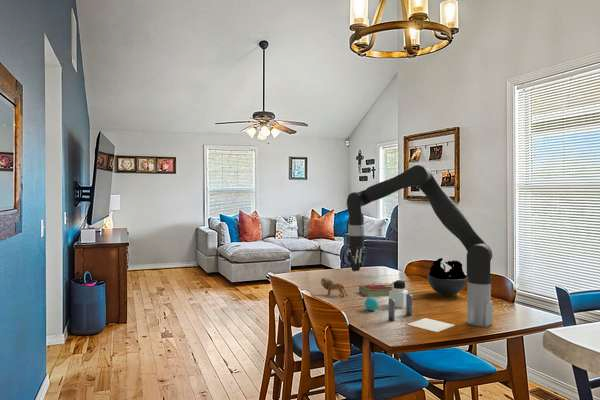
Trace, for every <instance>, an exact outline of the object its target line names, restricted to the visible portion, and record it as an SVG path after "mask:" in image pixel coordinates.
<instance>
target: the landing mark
mask: <svg viewBox="0 0 600 400" xmlns="http://www.w3.org/2000/svg"><path fill="white" fill-rule="evenodd" d="M406 325H407V326H411V327H415V328H418V329H422V330H426V331H431V332H434V333H439V332H441V331H445V330H447V329H450V328H453V327H455V326H456V324H452V323H449V322H445V321H439V320H436V319H431V318H427V317H423V318H422V319H418V320H415V321H412V322H409V323H407V324H406Z"/></svg>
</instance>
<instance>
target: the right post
mask: <svg viewBox="0 0 600 400" xmlns="http://www.w3.org/2000/svg"><path fill="white" fill-rule="evenodd" d="M405 315H406V316H410V317H411V316H413V294H410V293H408V294H406V306H405Z"/></svg>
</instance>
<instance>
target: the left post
mask: <svg viewBox="0 0 600 400" xmlns="http://www.w3.org/2000/svg"><path fill="white" fill-rule="evenodd" d="M395 312H396V307H395V299H389V298H388V317H387V318H388V319H387V320H388V321H389V322H395V318H396V317H395V316H396V315H395Z"/></svg>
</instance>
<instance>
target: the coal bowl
mask: <svg viewBox="0 0 600 400" xmlns="http://www.w3.org/2000/svg"><path fill="white" fill-rule="evenodd" d="M443 259H444V258H442V257H439V258H437V259H436V260H434V261H433V262H432V265H431V266H430V269H429V273H428V274H427V281H428V283H429V286H430V287H431V288H432V289H433V291H434V292H436V293H437V294H439V295H442V296H446V297H447V296H448V297H450V296H454V295H457V294H459V293H460V292H461V291H463V290H464V289H465V287H466V285H467V282H468V281H467V274H465V273H464V270H463V263H462V262H460V261H459V260H447V261H444V263H445V264H446V265H447V266H449V267H451V268H450V269H449V270H447V271H445V269H444V268H443V267H442V266H441V265H442V262H443Z"/></svg>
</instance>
